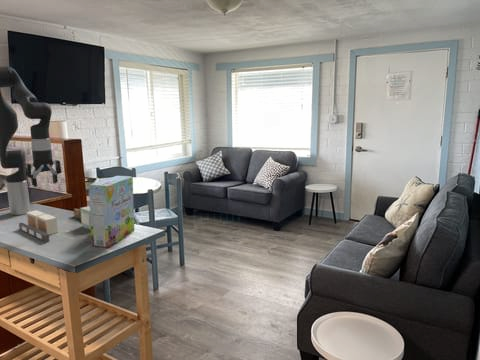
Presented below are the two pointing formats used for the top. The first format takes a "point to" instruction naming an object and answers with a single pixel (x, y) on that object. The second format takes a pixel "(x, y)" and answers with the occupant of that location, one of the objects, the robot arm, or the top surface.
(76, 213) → the shelf back lip
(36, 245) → the top surface
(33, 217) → the faced twin box
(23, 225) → the rail
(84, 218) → the sage tea tin
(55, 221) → the box
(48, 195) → the top surface
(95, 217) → the snack box
